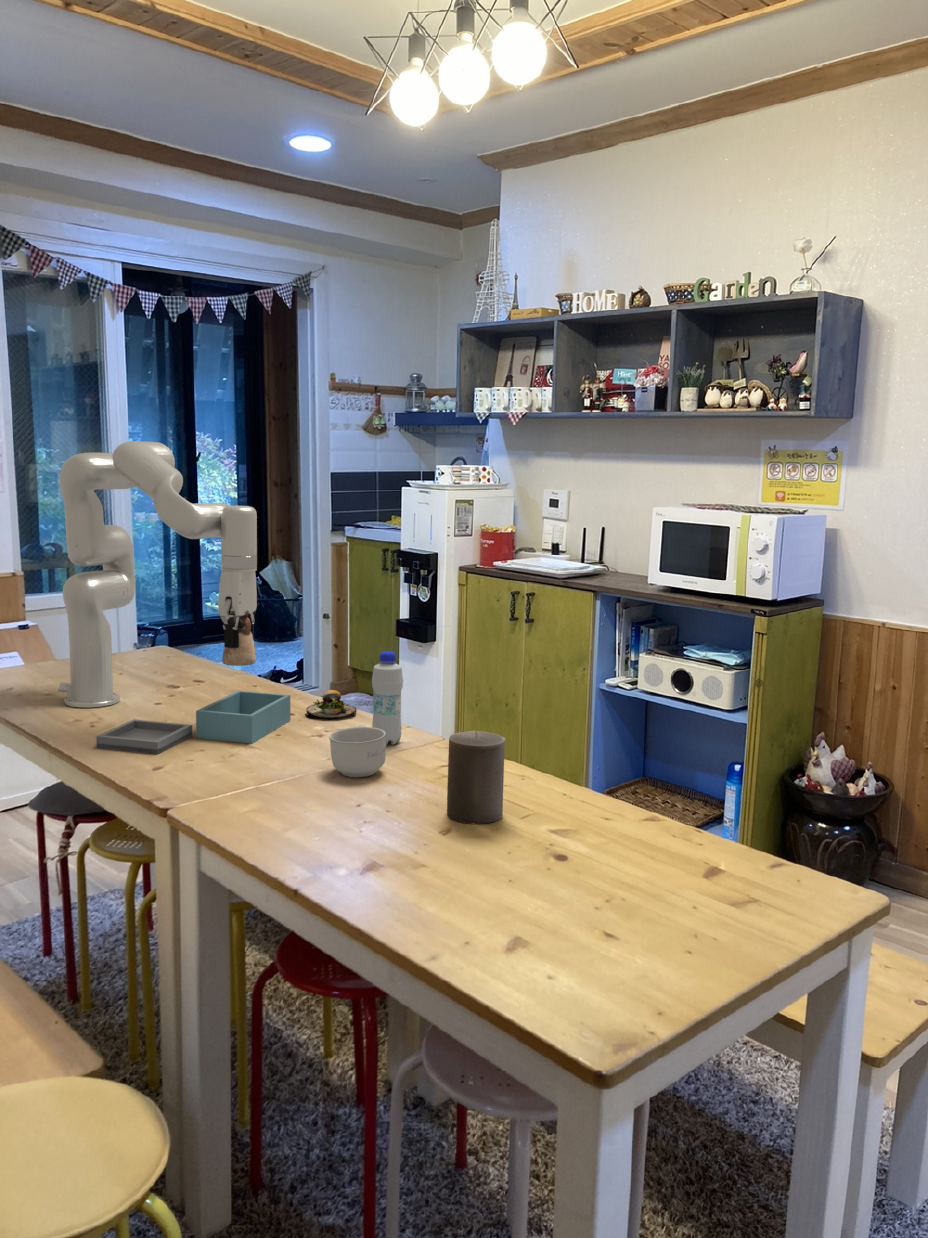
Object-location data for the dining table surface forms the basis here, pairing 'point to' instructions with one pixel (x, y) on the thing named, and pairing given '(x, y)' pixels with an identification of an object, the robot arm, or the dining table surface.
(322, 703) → the burger
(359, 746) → the teacup
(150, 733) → the tray
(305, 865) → the dining table surface
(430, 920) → the dining table surface
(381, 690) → the bottle
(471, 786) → the pillar candle
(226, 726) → the tub
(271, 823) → the dining table surface
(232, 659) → the figurine
